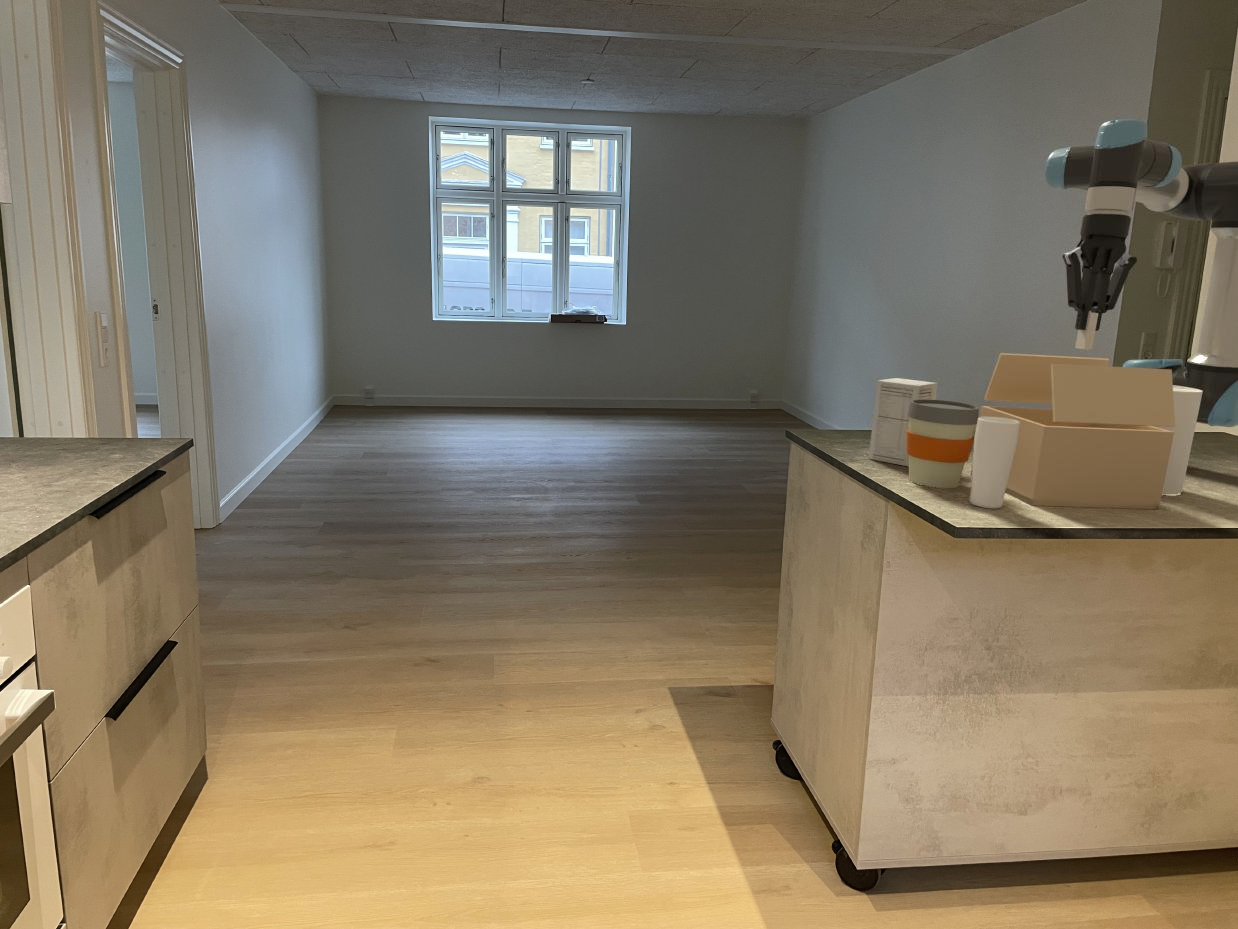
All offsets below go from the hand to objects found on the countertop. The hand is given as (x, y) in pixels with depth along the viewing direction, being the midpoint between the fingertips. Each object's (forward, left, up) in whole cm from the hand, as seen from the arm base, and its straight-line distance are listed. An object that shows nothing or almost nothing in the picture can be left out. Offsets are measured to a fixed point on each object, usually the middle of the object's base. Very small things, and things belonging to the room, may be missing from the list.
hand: (1083, 348), depth 161 cm
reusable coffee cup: (+23, -4, -27) cm, 36 cm away
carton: (0, 0, -27) cm, 27 cm away
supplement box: (+22, -23, -27) cm, 42 cm away
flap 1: (0, -10, -7) cm, 12 cm away
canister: (-21, -6, -27) cm, 35 cm away
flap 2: (0, +10, -7) cm, 12 cm away
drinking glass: (+21, +12, -27) cm, 36 cm away
